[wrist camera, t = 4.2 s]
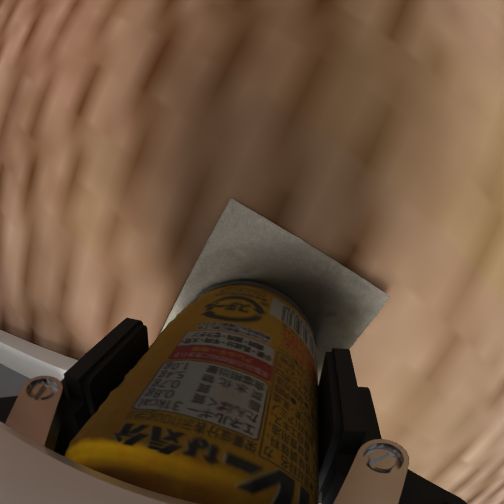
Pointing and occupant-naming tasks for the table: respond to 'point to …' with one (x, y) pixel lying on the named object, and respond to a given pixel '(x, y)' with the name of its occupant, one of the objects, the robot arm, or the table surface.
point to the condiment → (234, 373)
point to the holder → (27, 363)
